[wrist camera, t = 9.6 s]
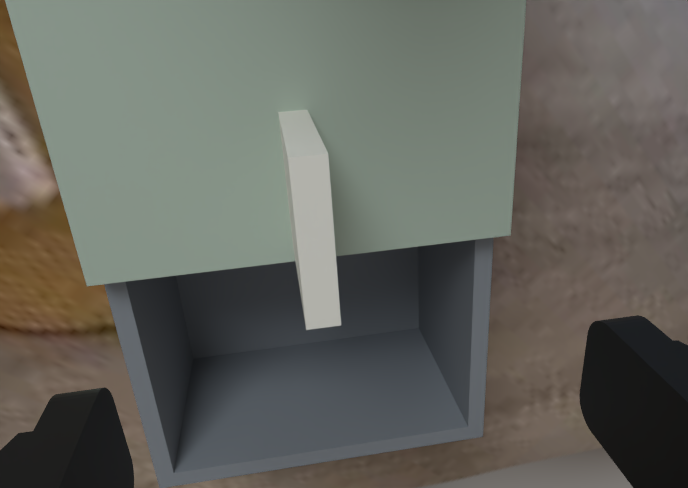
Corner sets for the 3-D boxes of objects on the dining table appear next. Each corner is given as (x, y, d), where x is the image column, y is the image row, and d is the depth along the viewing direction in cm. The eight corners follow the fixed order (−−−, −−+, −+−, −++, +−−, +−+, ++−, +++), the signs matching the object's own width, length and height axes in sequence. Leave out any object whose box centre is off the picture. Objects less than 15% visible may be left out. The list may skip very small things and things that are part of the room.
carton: (427, 84, 31) (499, 120, 22) (427, 330, 37) (482, 436, 28) (128, 110, 29) (71, 162, 20) (183, 363, 36) (159, 488, 27)
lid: (533, -287, 16) (701, -459, 10) (502, 227, 23) (592, 311, 17) (-63, -279, 15) (-294, -480, 8) (92, 276, 21) (27, 389, 15)
